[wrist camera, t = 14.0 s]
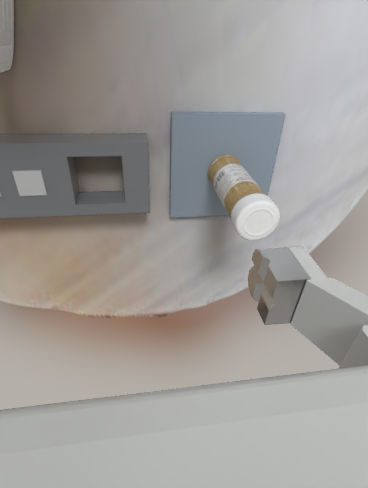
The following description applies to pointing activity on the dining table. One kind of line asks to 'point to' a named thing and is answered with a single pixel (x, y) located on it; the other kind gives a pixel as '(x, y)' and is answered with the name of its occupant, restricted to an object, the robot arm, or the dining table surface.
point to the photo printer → (6, 34)
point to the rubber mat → (214, 145)
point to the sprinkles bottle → (243, 199)
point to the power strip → (69, 175)
